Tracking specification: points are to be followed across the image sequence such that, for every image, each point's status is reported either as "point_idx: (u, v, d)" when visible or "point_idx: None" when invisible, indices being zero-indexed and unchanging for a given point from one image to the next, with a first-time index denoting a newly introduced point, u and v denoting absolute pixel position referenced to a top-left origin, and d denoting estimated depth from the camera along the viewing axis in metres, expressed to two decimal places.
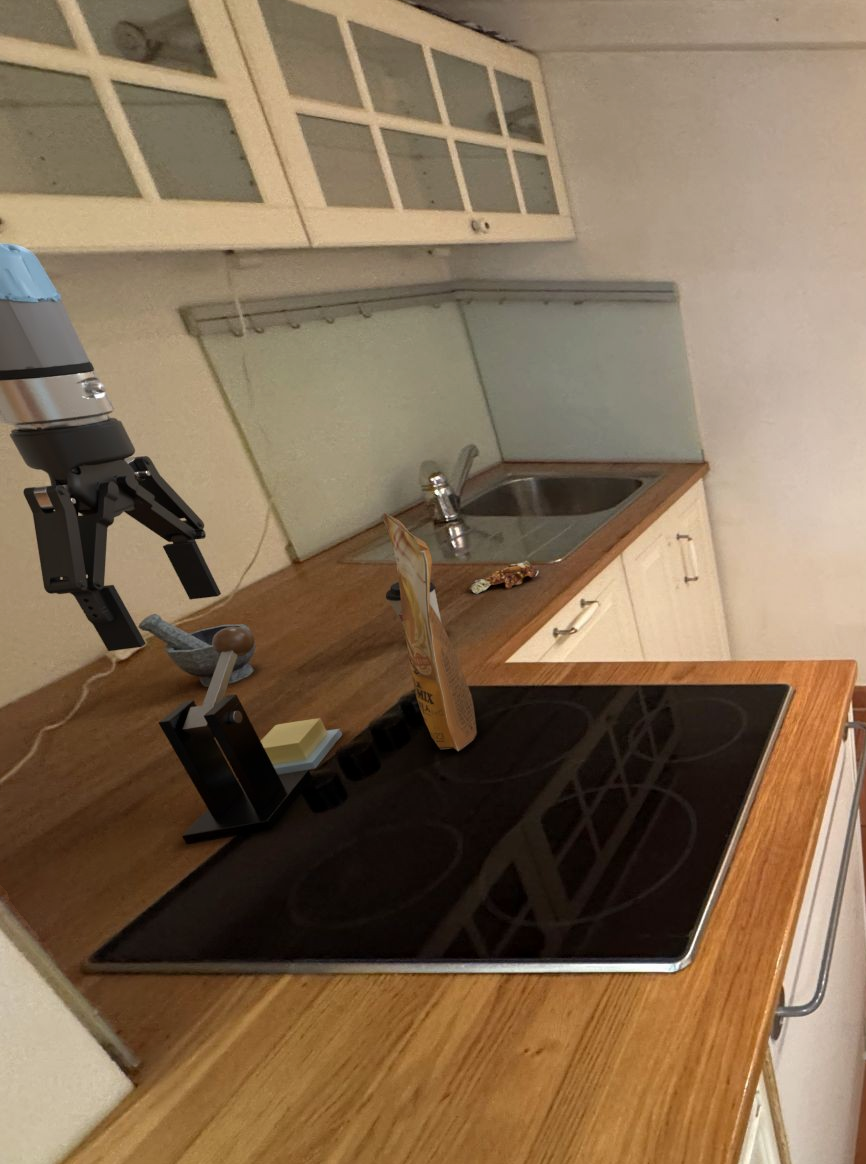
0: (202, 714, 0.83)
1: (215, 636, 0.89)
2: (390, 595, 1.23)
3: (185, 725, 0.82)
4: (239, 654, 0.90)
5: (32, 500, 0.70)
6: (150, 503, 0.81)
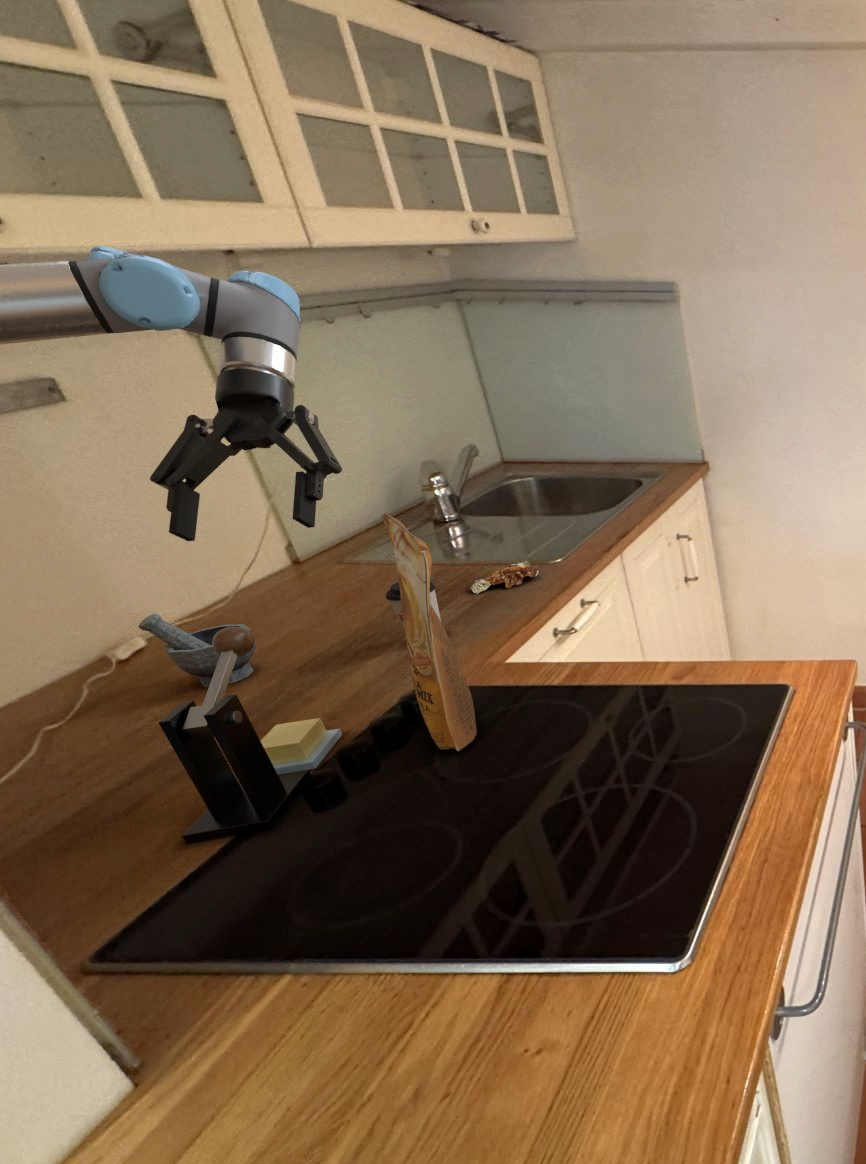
0: (202, 714, 0.83)
1: (215, 636, 0.89)
2: (390, 595, 1.23)
3: (185, 725, 0.82)
4: (239, 654, 0.90)
5: (307, 413, 0.99)
6: (237, 453, 0.99)
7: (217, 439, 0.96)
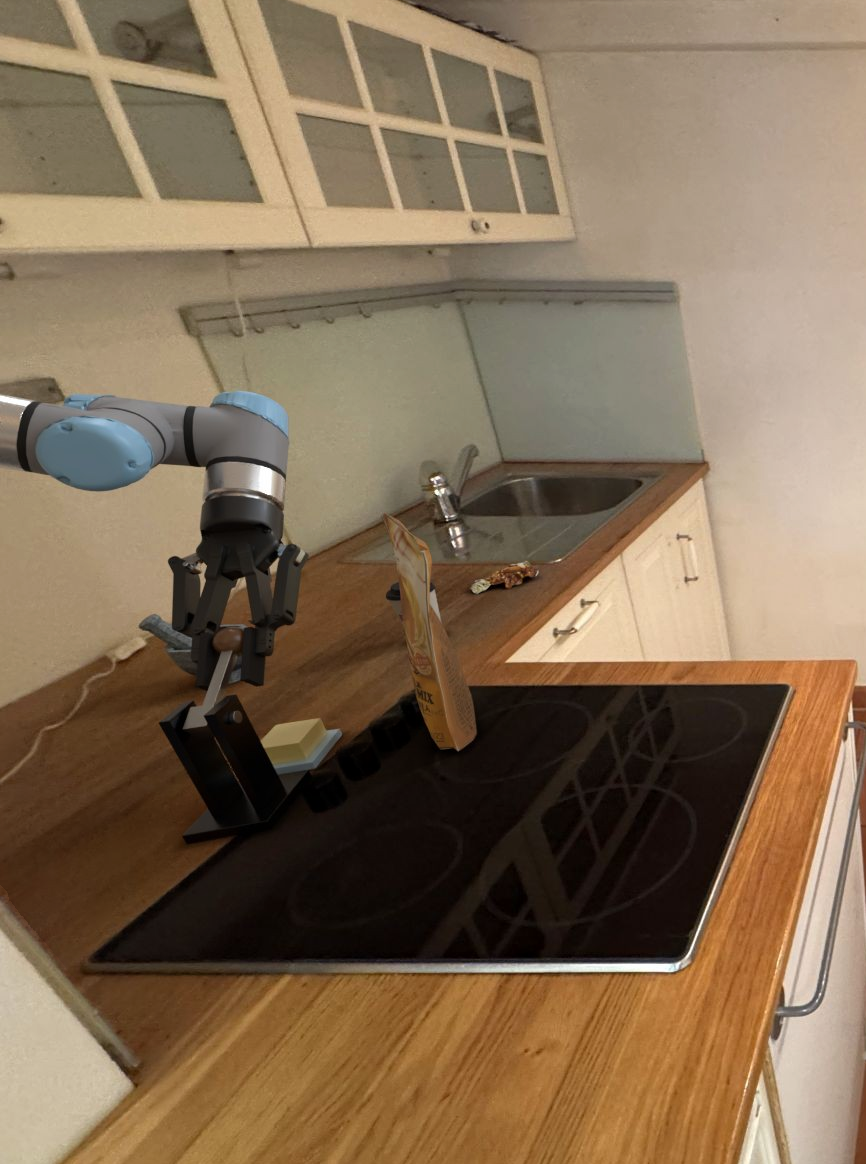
0: (202, 714, 0.83)
1: (215, 636, 0.89)
2: (390, 595, 1.23)
3: (185, 725, 0.82)
4: (239, 654, 0.90)
5: (296, 554, 0.94)
6: (236, 583, 0.94)
7: (217, 572, 0.91)
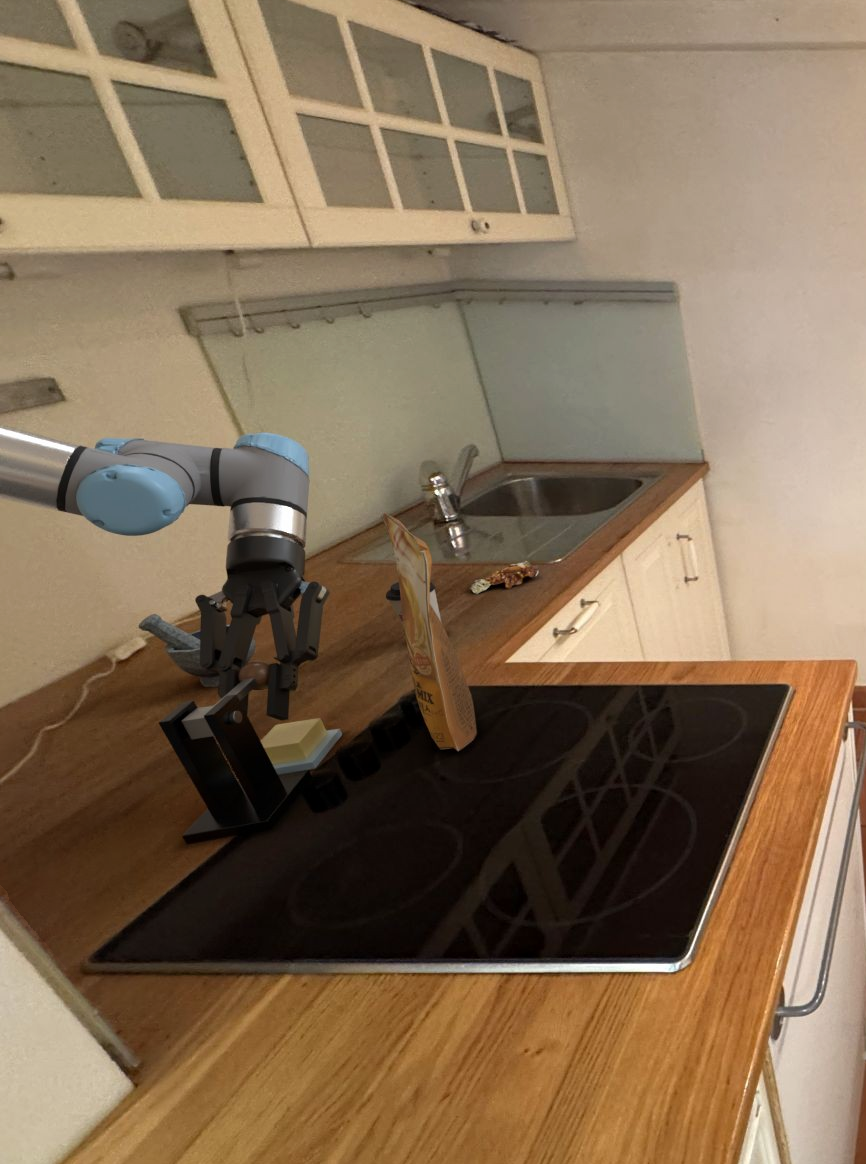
0: (205, 711, 0.84)
1: (243, 666, 0.93)
2: (390, 595, 1.23)
3: (185, 718, 0.82)
4: (259, 684, 0.93)
5: (318, 591, 0.97)
6: (260, 620, 0.97)
7: (242, 610, 0.94)
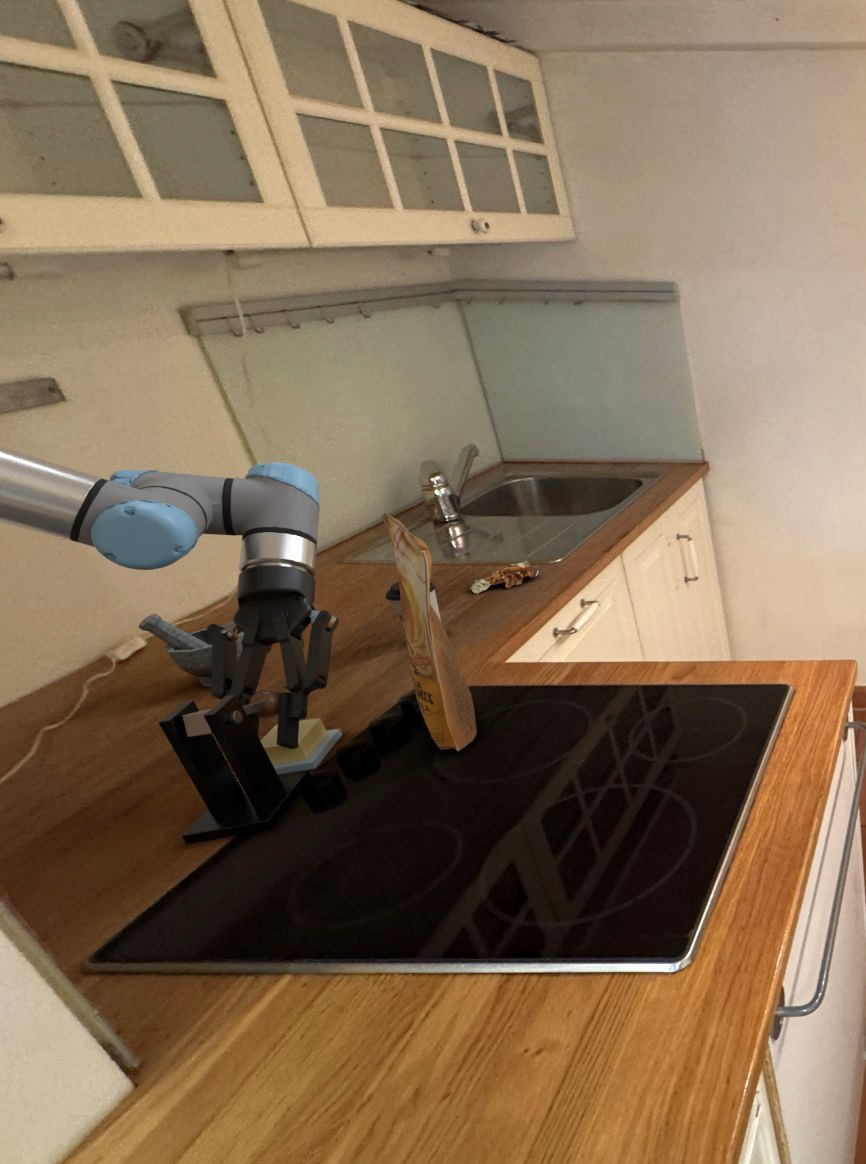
0: (207, 710, 0.84)
1: (256, 692, 0.94)
2: (390, 595, 1.23)
3: (186, 714, 0.83)
4: (267, 709, 0.93)
5: (328, 620, 0.99)
6: (270, 648, 0.99)
7: (253, 639, 0.96)
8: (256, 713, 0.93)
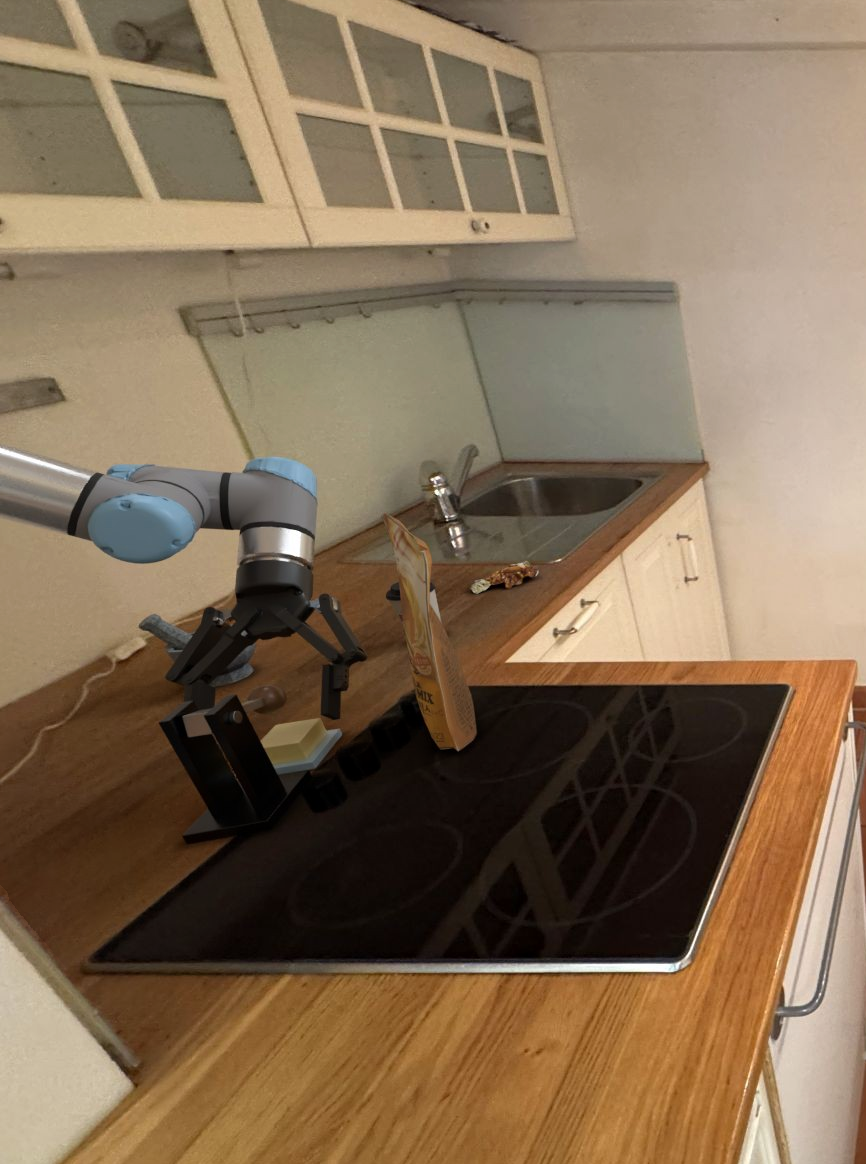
0: (207, 710, 0.84)
1: (254, 689, 0.94)
2: (390, 595, 1.23)
3: None
4: (266, 705, 0.93)
5: (331, 601, 0.99)
6: (254, 642, 0.98)
7: (237, 633, 0.95)
8: (255, 710, 0.93)
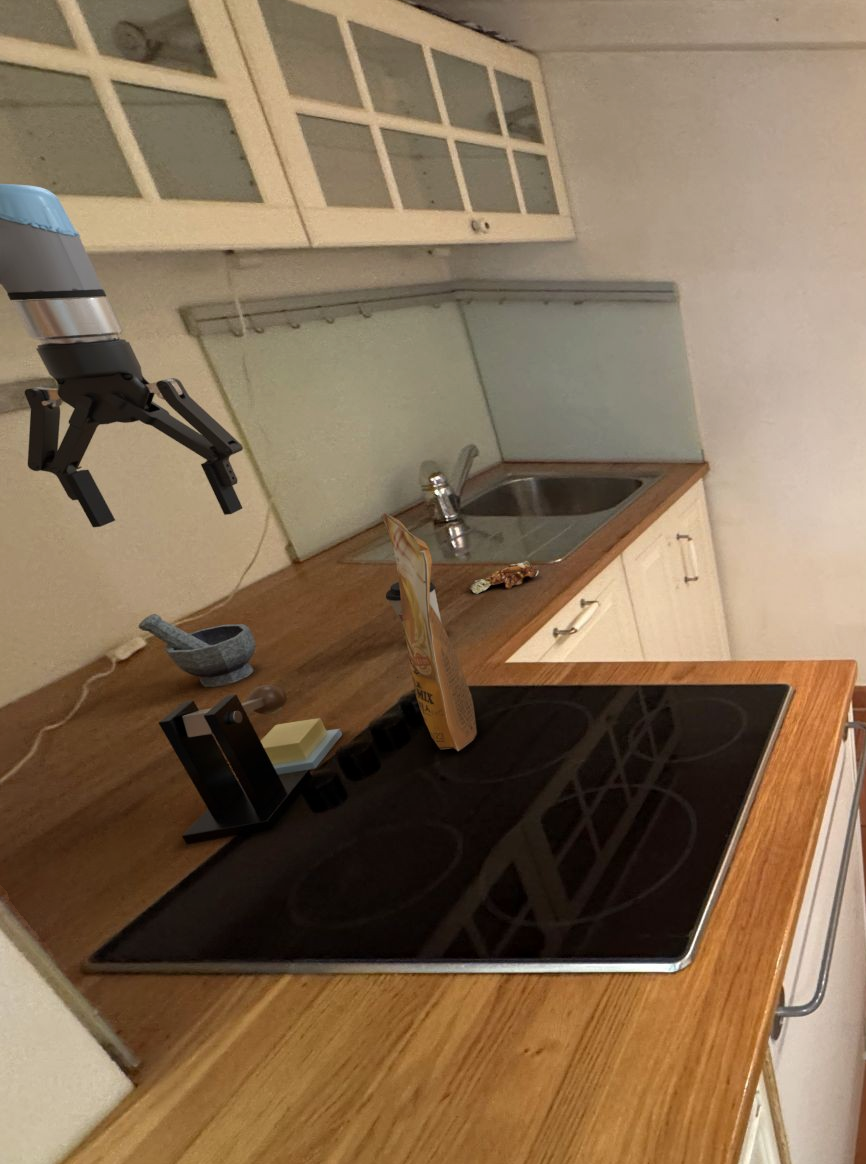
0: (207, 710, 0.84)
1: (254, 689, 0.94)
2: (390, 595, 1.23)
3: None
4: (266, 705, 0.93)
5: (173, 388, 0.91)
6: None
7: (83, 424, 0.90)
8: (255, 710, 0.93)
